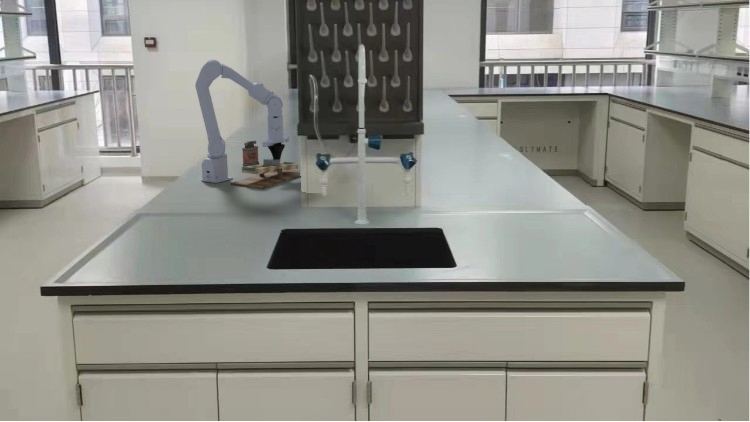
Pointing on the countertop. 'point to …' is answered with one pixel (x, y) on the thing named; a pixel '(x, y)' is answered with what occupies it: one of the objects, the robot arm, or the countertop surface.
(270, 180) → the stand
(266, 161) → the grey block
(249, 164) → the red tin
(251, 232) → the countertop surface
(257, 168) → the beam
